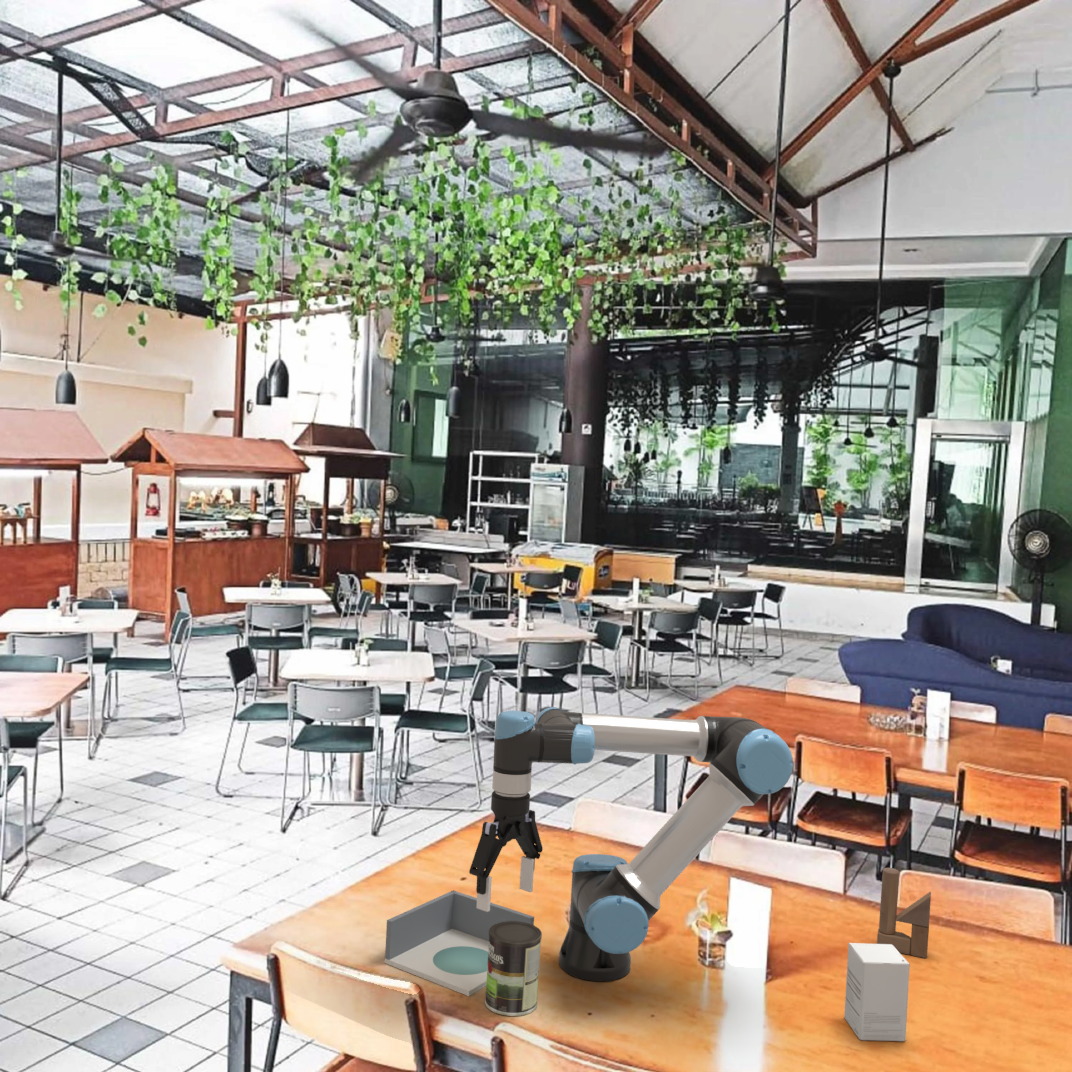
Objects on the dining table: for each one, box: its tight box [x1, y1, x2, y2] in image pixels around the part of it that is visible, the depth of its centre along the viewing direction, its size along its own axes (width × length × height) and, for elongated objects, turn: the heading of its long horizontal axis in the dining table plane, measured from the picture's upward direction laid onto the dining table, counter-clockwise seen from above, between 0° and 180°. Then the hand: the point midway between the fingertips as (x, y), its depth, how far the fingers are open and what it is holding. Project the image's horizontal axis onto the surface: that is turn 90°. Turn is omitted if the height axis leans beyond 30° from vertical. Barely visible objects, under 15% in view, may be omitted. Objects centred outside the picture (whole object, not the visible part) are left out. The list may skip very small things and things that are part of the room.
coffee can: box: [484, 921, 543, 1017], centre depth 196 cm, size 10×10×14 cm
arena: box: [384, 889, 535, 997], centre depth 213 cm, size 22×22×9 cm
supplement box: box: [843, 942, 911, 1042], centre depth 194 cm, size 9×9×15 cm
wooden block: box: [876, 867, 932, 959], centre depth 231 cm, size 4×11×18 cm, turn 68°
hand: (505, 899), depth 198 cm, fingers open, 13 cm apart
